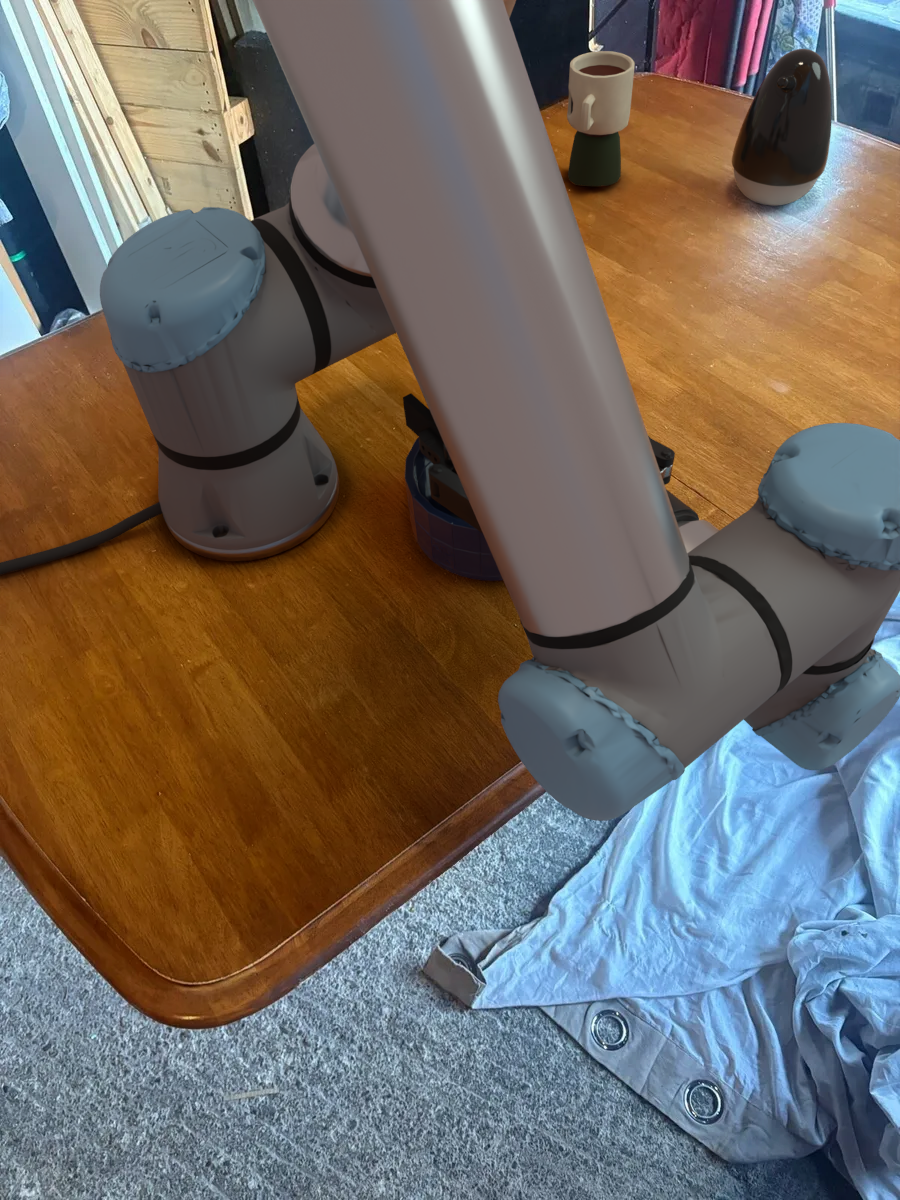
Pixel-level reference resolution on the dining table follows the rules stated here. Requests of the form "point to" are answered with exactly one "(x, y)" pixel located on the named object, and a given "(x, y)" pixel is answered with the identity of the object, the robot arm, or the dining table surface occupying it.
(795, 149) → the dark brown egg shape
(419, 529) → the pot
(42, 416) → the dining table surface
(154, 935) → the dining table surface
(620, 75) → the character mug
